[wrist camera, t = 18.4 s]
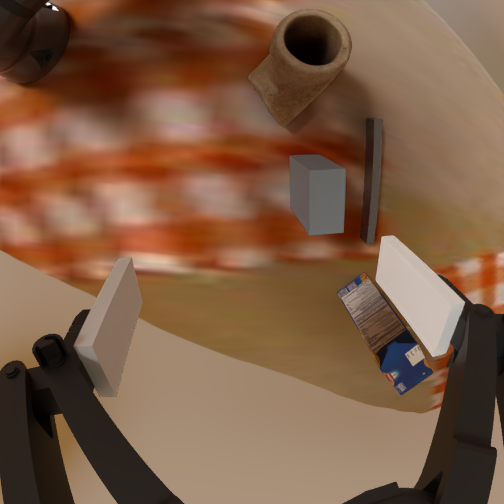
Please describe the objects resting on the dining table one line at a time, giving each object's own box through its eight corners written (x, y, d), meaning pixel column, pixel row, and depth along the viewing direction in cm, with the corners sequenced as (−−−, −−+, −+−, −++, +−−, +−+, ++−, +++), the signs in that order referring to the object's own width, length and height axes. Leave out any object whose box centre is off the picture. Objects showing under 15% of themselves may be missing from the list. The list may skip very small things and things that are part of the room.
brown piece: (294, 16, 40) (324, -13, 26) (345, 68, 44) (390, 59, 31) (226, 76, 43) (229, 64, 30) (281, 127, 48) (306, 137, 34)
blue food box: (364, 271, 61) (417, 343, 42) (384, 303, 66) (433, 373, 46) (336, 291, 63) (380, 369, 43) (360, 321, 67) (401, 395, 47)
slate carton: (289, 155, 50) (309, 170, 39) (320, 154, 50) (347, 168, 40) (290, 207, 54) (309, 235, 43) (320, 205, 54) (345, 232, 44)
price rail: (360, 237, 58) (366, 244, 55) (366, 117, 48) (374, 119, 45) (368, 236, 58) (375, 243, 55) (375, 118, 48) (383, 119, 45)
